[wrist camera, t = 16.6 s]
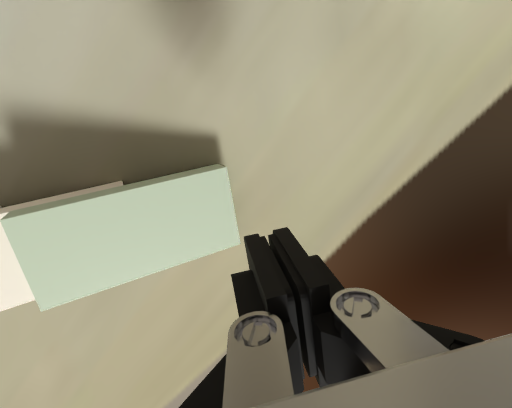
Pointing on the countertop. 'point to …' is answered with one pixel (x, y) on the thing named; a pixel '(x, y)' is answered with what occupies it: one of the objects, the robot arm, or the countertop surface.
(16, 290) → the domino
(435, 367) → the robot arm
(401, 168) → the countertop surface
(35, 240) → the domino
